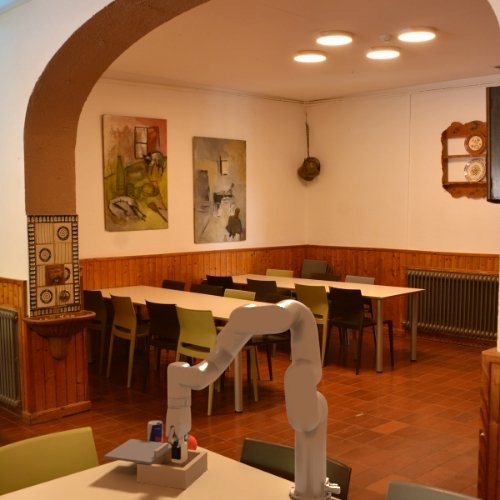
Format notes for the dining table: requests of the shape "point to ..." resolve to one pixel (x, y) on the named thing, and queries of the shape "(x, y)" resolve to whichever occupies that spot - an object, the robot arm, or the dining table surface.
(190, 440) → the clementine
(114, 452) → the box lid
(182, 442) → the pepper shaker
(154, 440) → the energy drink
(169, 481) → the mailer box
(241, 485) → the dining table surface
